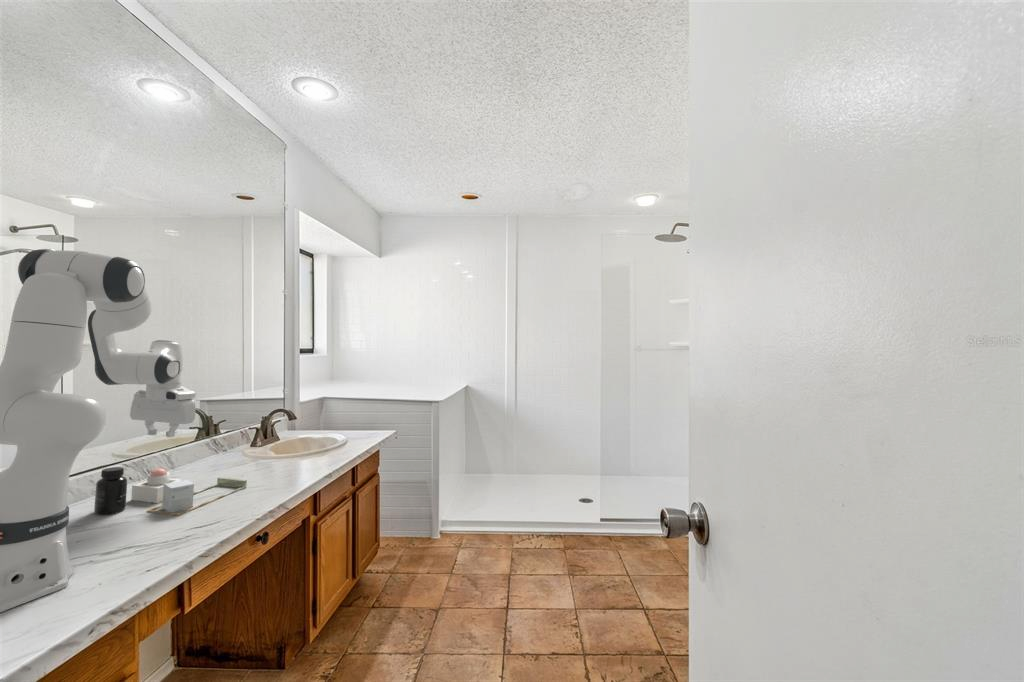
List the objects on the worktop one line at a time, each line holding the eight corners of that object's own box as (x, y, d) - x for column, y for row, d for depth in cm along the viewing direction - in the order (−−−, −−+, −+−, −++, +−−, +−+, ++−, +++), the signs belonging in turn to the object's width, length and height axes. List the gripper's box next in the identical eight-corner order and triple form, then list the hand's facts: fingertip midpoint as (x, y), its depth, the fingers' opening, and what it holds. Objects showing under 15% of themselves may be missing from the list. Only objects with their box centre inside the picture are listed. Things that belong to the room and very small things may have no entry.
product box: (168, 513, 132) (169, 488, 132) (161, 508, 136) (162, 483, 136) (193, 508, 137) (194, 483, 137) (185, 503, 141) (187, 479, 141)
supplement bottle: (127, 511, 132) (129, 469, 132) (95, 517, 127) (98, 473, 127) (123, 504, 136) (126, 464, 136) (92, 510, 131) (95, 468, 131)
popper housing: (157, 503, 139) (157, 488, 139) (131, 500, 140) (132, 485, 140) (182, 493, 148) (183, 479, 148) (158, 490, 149) (158, 477, 149)
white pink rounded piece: (157, 492, 141) (158, 472, 141) (141, 490, 142) (143, 470, 142) (173, 487, 146) (174, 467, 146) (158, 485, 147) (159, 465, 147)
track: (178, 515, 131) (178, 507, 131) (146, 512, 132) (146, 503, 132) (246, 487, 157) (246, 480, 157) (219, 484, 159) (219, 477, 159)
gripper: (125, 390, 143) (122, 435, 143) (183, 395, 140) (180, 440, 140) (144, 388, 149) (141, 431, 149) (200, 393, 146) (197, 436, 146)
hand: (161, 436), depth 144 cm, fingers open, 5 cm apart
